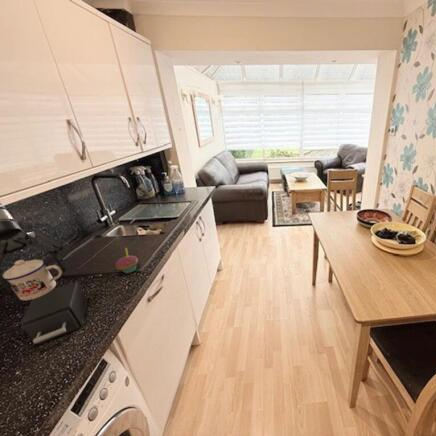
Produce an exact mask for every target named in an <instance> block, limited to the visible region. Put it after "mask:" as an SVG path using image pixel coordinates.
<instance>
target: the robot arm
mask: <svg viewBox="0 0 436 436" xmlns="http://www.w3.org/2000/svg"><path fill="white" fill-rule="evenodd" d="M1 203H2V202H1ZM1 203H0V205H2V204H3V203H2V204H1ZM30 238H34V239H38V240H40V242H43V243H45V244H47V245H48V246H47V245H45V244H41V243H37V242H34V241H32V240H30ZM25 248H27V249H31V250H36V251H39V252H43V253H46V254H50V257H51V259H52V260H53V261H54V262H55V264H56V266H59V267H60V268H61V269H62V273H65V272H66V270H67V269H66V268H65V266H64V264H63V263H62V262H64V258H63V256H62V255H61V253H60V252H61V251H62V252H63V250H64V246H63V244H61V243H59V242H58V241H56V240H54V239H52V238H50V237H49V236H47V235H45V234H43V233H42V232H41V231H40V230H39V229H38V228H33V230H32V231H30V232H26V231H25V232H24V230H23V229H22V227H20V225H19V223H18V222H17V221H16V220H15V219H14V217H13V216H12V215H11V213H10V212H9V211H8V209H7V208H6V207H5V205H4V206H1V207H0V270H1V269H2V266H3V264H4V261H5V259H6V257H7V255H8V254H13V253H15V252H17V251H21V250H24V249H25ZM2 287H4V289H5V290H6V291H7V293H8V294H9V295H10V296H14V295H15V292H14V290H13V289H12V288H11V286H10V285H9V284H8V282H7V281H6V280H4V279H3V275H1V274H0V288H2Z"/></svg>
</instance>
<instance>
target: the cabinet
mask: <svg viewBox="0 0 436 436" xmlns="http://www.w3.org/2000/svg"><path fill="white" fill-rule="evenodd" d="M87 304H88V298H87V297H86V294H85V293H84V291H83V289H82V288H81V286H80V284H79V283H78V281H74V282H71V283H67V284H65V285H61V286H59V287H54V288H53V289H52V290H51V291H50V292H48V293H46V294H44V295H42V296H40V297H38V298H35V299H31V300H30V303H29V305H28V306H27V309H26V311H25V313H24V315H23V316H22V318H21V320H20V322H19V324H20V326H21V327H22V328H23V327H24V325H25V324H28V323H30V322H32V321H35V320H38V319H40V318H43V317H46V316H49V315H52V314H54V313H57V312H60V311H63V310H65V309H69V310H70V312H71V313H72V315H73V317H74V318H75V320H76V321H77V323H78V324H79V328H80V327H83V324H84V318H85V316H86V315H85V314H86V309H87V306H88V305H87ZM31 339H32V338H31ZM32 341H33V339H32Z"/></svg>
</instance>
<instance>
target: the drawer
mask: <svg viewBox="0 0 436 436" xmlns="http://www.w3.org/2000/svg"><path fill="white" fill-rule="evenodd" d="M22 328H23V330H24V331H25V332H26V334H28V336H29V337H30V338H31V339H33V340H32V342H33V344H34V345H36V346H38V345H41V344H44V343H46V342H49V341H51V340H53V339H56V338H58V337H61V336H64V335H66V334H69V333H71V332H73V331H76V330H78V329H80V327H79V324H78V323H77V321H76V320H75V318H74V317H73V315H72V313H71V312H70V310H69V309H65V310H63V311H60V312H57V313H54V314H52V315H49V316H46V317H43V318H40V319H38V320H35V321H32V322H30V323H28V324H25V325H24V327H22Z"/></svg>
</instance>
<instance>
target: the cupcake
mask: <svg viewBox="0 0 436 436" xmlns="http://www.w3.org/2000/svg"><path fill="white" fill-rule="evenodd" d="M124 251H125V256H122V257H121V258H119V259H118V260H117V261H116V262H115V264H114V267H115V269H116V270H118V271H121V272H122V273H124V274H130V273H132V272H134V271H136V270H137V264H138V262H139V259H138V256H136V255H130V254H129V251H128V248H127V247H125V248H124Z"/></svg>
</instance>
